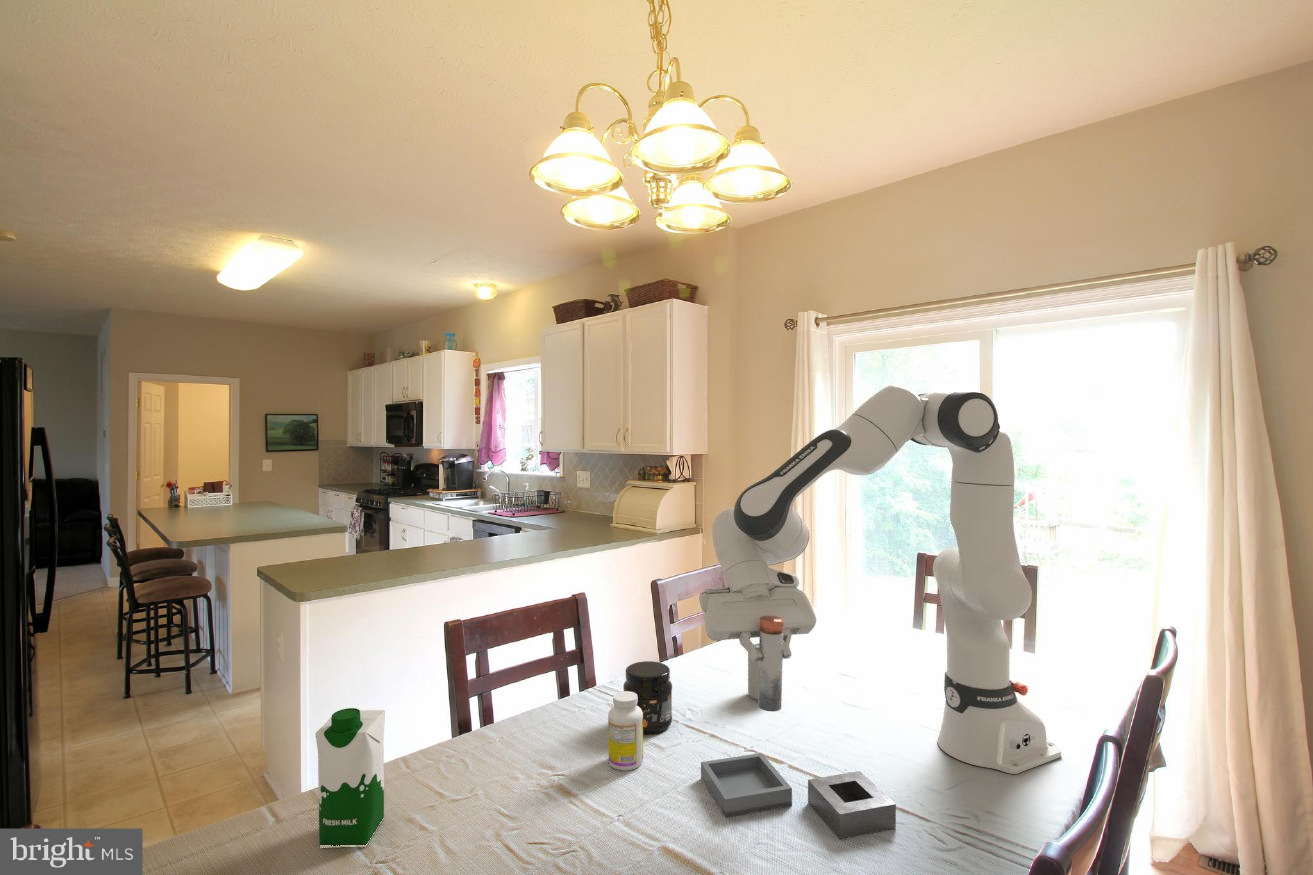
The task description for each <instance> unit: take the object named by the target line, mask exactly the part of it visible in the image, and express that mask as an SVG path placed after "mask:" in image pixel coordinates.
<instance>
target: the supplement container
mask: <svg viewBox="0 0 1313 875" xmlns="http://www.w3.org/2000/svg"><path fill="white" fill-rule="evenodd" d="M670 678H671V669H670V667H669V666H668V665H667V664H665V663H662V662H660V661H659V662H658V661H650V660H647V661H645V660H644V661H638V662H634V663H632V664H629V665H628V666H627V667H626V668H625V681H624V683H623V686H622V687H623V691H630V692H634V693H636V694H637V696H638V702H637V706H638V707H640V709H641V710H642V712H643V735H653V734H658V733H661V732H662V733H663V731H666V730H667V729H668V728H669V727H671V725H672V722H673V716H672V715H673V714H672V713H673V711H672V710H673V709H672V708H673V706H672V705H673V698H672V696H673V694H672V691H673V683H672V681H671V680H670Z"/></svg>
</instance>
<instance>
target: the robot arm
mask: <svg viewBox="0 0 1313 875" xmlns="http://www.w3.org/2000/svg"><path fill="white" fill-rule="evenodd" d="M998 414H999V413H998V411H997V408H996V406H995V404H994V402H993V400H992V399H991V398H990V397H989V396H988V395H987V394H985V393H983V392H980V391H978V390H974V389H968V388H961V389H940V390H936V391H934V392H929V393H919V394H916V393H915V391H913V390H911V389H910V388H908V387H906V386H904V385H903V386H902V385H900V384H891V385H887V386H886V387H884V388H882V389H880V390H879V391H877V392H876V393H875V394H874V395H872V396H871V397H870V398H869V399H867V400H865V402H864V403H862V404H861V405H860V406H858V408H857V409H856V410H855V411H854V412H853V413H852V414H851V415H850V416H849V417H848V418H847V419H846V420H845V421H844V422H842V423H841V424H840V425H839V426H837V427H835V428H834V429H829V430H826V431H824V432H822V433H821V434H819V435H818V436H816V437H815V438H813V439H812V440H811V441H809V442H808V443H807V444H805V446H803V447H802V448H801V449H799V450H798V451H797V452H796V453H794V454H793V456H791V457H790V458H788V460H786V461H785V462H784V463H783V464H781V466H779V467H778V468H777V469H775V470H774V471H773V472H771V473H770V474H769V475H767V476H766V477H764V478H762V479H761V480H759V481H756V482H754V483H752V484H751V485H749V486H748V487H746V488H745V489H744V490H743V491H742V492H741V493H740V494H739V496H738V497H737V499H736V501H735V503H734V506H732V507H729V508H726V509H724V510H722V511H721V512H720V513H719V514H718V515H717V516H716V518H714V521H713V523H712V526H711V527H712V528H711V535H712V542H713V547H714V551H715V555H716V559H717V561H718V564H719V565H720V566H721V569H722V575H721V576H722V580H723V584H724V587H720V588H705V590H704V591H702V592H701V593H700V594H699V597H698V600H699V604H700V608H701V610H702V611H703V619H704V628H705V632H706V636H707V637H708V638H709V639H710V640H712V641H726V640H739V644H740V645H741V647H742V648H744V649H745V651H746V652H747V653H748V652H749V654H750V657H751V660H752V661H761V659H762V658H763V655H762V653H761V648H760V647H755V646H754V644H755V643H753V642H752V641H751V639H755V638H760V618H761V617H763V616H776V617H780V618H782V619H784V631H783V660H785V659H790V658H792V650H791V647H790V644H791V639H792V636H794V635H797V636H798V635H807V634H810V633H811V632H812V630H813V629H814V628H815V626H816V624H817V616H816V613H815V611H814V608H813V606H812V604H811V602H810V600H809V598H808V596H807V594H806V593H805V592H804V591H803V590H802V589H801V588H799V587H798V586H799V585H800V581H799V577H798V576H797V575H795V574H792V573H789V572H785V571H781V570H778V569H774V568H771V567H769V566H773V565H779V564H782V563H785V562H788V561H792V560H794V559H796V558H797V557H800V556H801V555H802V554H803V552H805V550H806V548H807V547H808V543H809V541H810V530H809V528H808V526H807V524H806V523H805V521H804V520H803V518H802V517H801V516H800V515H799V512H797V511H796V510H795V509H794V503H795V501H796V500H797V498H799V497H800V495H802V494H803V493H804V492H805V491H806V490H808V489H809V488H810V487H811V486H812V485H813V484H814V483H816V482H817V481H818V480H819V479H821V478H822V477H823V476H824V475H825V474H827V473H828V472H831V471H835V470H836V471H837V470H840V471H842V472H845V473H846V474H847V473H848V474H850V475H854V476H868V475H873V474H875V473H877V472H878V471H879V470H880V469H882V468H883V467H884V466H885V465H886V464H887V463H889V462H890V461H891V459H892V458H893V457H894V456H896V454H897V453H898V452H899V451H900V450H901V449H902V448H903V446H904V445H905V444H906V443H907V442H909V441H912V442H914V443H916V444H918V445H921V446H931V447H936V448H947V450H948V452H949V454H950V456H951V460H952V469H951V481H950V501H949V502H950V504H949V505H950V506H949V521H950V524H951V526H952V528H953V531H954V535H955V539H956V540H955V541H956V545H957V546H953V547H947V548H946V549H943V550H942V551H940V552H939V553H938V554H937V555H936V557H935V558H934V561H933V564H932V574H933V577H934V579H935V581H936V585H937V587H938V593H939V599H940V605H941V610H942V616H943V620H944V626H945V634H946V671H945V673H944V679H943V682H944V683H943V691H944V698H945V704H944V708H943V717H942V721H941V726H940V730H939V734H938V737H937V745H938V746H939V748H940V749H941V750H942V751H943V752H944V753H946V754H948V755H949V756H951V757H952V758H954V759H956V760H959V761H961V762H964V763H967V764H970V765H974V766H977V767H982V768H987V769H995V770H998V771H1001V772H1004V773H1007V774H1011V775H1012V774H1013V775H1017V774H1020V773H1023V772H1025V771H1028V770H1030V769H1032V768H1035V767H1038V766H1041V765H1043V764H1046V763H1048V762H1052V761H1054V760H1056V759H1059V758H1062V752H1061V749H1060V748H1059V747H1058V746H1057V745H1056V744H1055V743H1053V742H1052V741H1051V740H1050V739H1048V738H1047V731H1046V727H1045V723H1044V721H1043V720H1042V718H1040V716H1039V715H1038V714H1036V713H1035V712H1034V711H1032V710H1031V709H1030V708H1028V707H1027V706H1026V705H1025V704H1024V703H1022V702H1021V701H1020V700H1019V699H1018V697H1017V695H1016V693H1018V694H1019V695H1021V696H1026V695H1027V694H1028V693H1029V688H1028V686H1027V685H1025V684H1022V683H1021V682H1019V681H1017V682H1013V681H1012V680H1011V679H1010V658H1011V657H1010V650H1011V649H1010V647H1011V646H1010V642H1009V638H1008V636H1007V634H1006V631H1005V630H1004V627H1003V624H1002V621H1012V620H1013V621H1014V620H1015V619H1018V618H1020V617H1021V616H1023V615H1024V614H1025V613H1026V612H1027V611H1028V609H1029V607H1030V606H1031V603H1032V601H1033V600H1032V599H1033V592H1032V590H1033V589H1032V587H1031V584H1030V582H1029V580H1028V579H1027V578H1026V577H1027V576H1026V575H1025V573H1024V571H1023V567H1022V565H1021V559H1020V554H1019V550H1018V545H1017V540H1016V535H1015V528H1014V506H1015V505H1014V503H1015V502H1014V500H1015V498H1014V497H1015V459H1014V453H1013V445H1012V442H1011V438H1010V437H1009V435H1008V434H1007V433H1006V432H1005V431H1003V430H1001V426H1000V423H999V415H998Z"/></svg>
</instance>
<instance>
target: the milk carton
mask: <svg viewBox="0 0 1313 875" xmlns="http://www.w3.org/2000/svg"><path fill="white" fill-rule="evenodd" d="M385 719H386V709H371V710H370V709H367V710H366V709H361V710H360V709H358V708H356V707H348V708H343V709H339V710H337V711H335V712H334V713H332V714H331V717H330V718H329V719H328V720H327V721H326V722H325V723H324V724H322V726H321V727H320V728H319V729H318V730H317V731H316V732H315V734H314V735H315V740H316V748H317V759H318V761H317V763H318V764H317V767H318V768H317V770H318V771H317V773H318V778H317V780H318V782H317V783H318V834H319V839H318V840H319V846H320V845H331V846H332V845H333V846H336V845H337V846H338V845H339V846H340V845H366V844H367V843H368V841H369V840H370V838H371V837H372V835H373V833H374V832H375V831H376V829H377V827H378V826H379V824H380V822H381V821H382V819H383V818H384V819H385V756H384V755H385V748H384V747H385V746H384V735H385ZM382 822H383V821H382ZM380 825H381V824H380ZM379 827H380V826H379ZM377 830H378V829H377ZM376 832H377V831H376ZM376 832H375V833H376ZM373 836H374V835H373ZM372 838H373V837H372ZM372 838H371V839H372ZM370 841H371V840H370ZM368 844H369V843H368Z"/></svg>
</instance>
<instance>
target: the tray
mask: <svg viewBox="0 0 1313 875" xmlns="http://www.w3.org/2000/svg"><path fill="white" fill-rule="evenodd" d="M700 780H701V781H702V782H703V784H704V786H705V787H706V789H707V790H708V792H709V793H710V795H711V797H712V799H713V800H714V802H715V803H716V805H717V807H718V808H719V810H720V811H721V813H722V815H723V816H724V818H731V817H736V816H742V815H747V814H752V813H758V812H765V811H770V810H775V809H780V808H787V807H792V806H793V787H792V786H791V785H790V784H789V783H788V782H787V780H785V778H784V777H783V776H782V775H781V774H780V772H779V771H778V770H777V769H776V768H775V767H774V766H773V764H772V763H771V762H770V761H769V759H768V758H766V756H765V755H764V753H762V752H758V753H753V754H745V755H740V756H739V755H738V756H733V757H732V756H731V757H725V758H718V759H713V760H712V759H711V760H706V761H705V760H704V761H701V762H700Z"/></svg>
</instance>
